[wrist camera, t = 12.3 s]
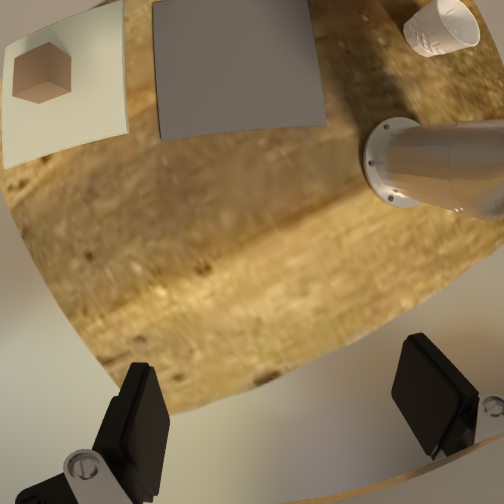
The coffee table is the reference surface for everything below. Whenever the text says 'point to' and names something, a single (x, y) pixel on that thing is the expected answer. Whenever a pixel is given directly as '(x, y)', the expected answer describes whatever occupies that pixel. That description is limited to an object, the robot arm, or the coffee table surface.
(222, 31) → the mat
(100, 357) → the coffee table surface
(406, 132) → the robot arm
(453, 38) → the white cup
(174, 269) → the coffee table surface
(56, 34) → the lid sheet
